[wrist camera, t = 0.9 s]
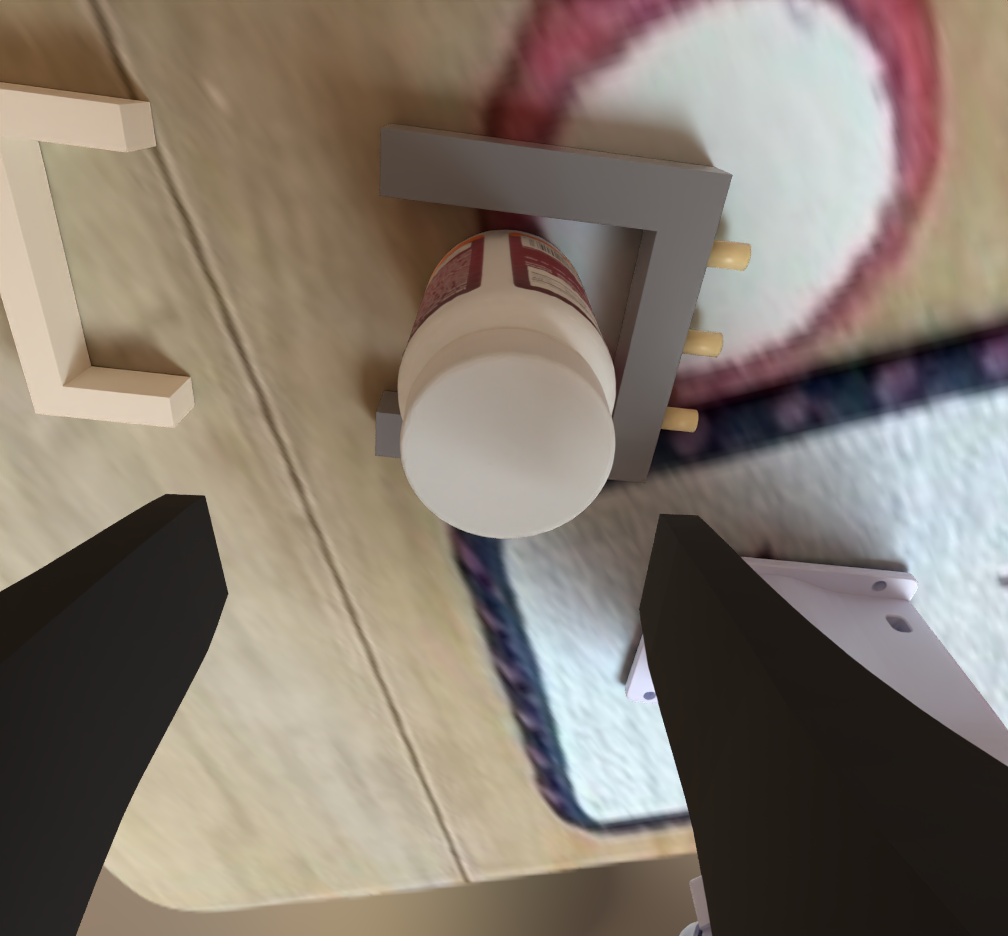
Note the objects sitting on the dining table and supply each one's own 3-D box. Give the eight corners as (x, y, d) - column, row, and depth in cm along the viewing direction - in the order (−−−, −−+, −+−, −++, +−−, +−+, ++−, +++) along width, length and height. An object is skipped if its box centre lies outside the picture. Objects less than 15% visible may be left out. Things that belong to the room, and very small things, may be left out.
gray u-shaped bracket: (759, 173, 17) (780, 181, 16) (671, 462, 22) (682, 486, 20) (390, 123, 16) (380, 127, 15) (383, 432, 21) (375, 455, 20)
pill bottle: (441, 393, 20) (407, 568, 13) (409, 238, 18) (346, 351, 11) (591, 375, 20) (640, 544, 13) (580, 214, 17) (633, 313, 10)
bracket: (149, 102, 16) (119, 104, 15) (194, 405, 20) (174, 427, 19) (-17, 79, 16) (-63, 80, 14) (65, 392, 20) (35, 413, 19)
